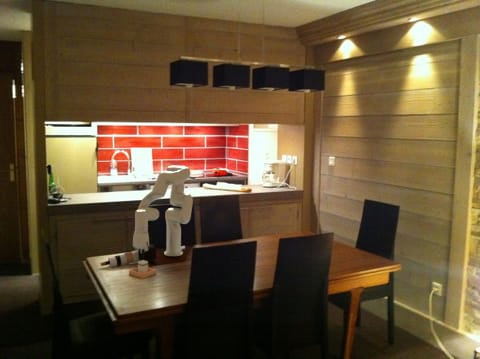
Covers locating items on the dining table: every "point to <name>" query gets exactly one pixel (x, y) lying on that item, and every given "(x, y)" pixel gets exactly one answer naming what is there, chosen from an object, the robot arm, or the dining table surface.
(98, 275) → the dining table surface
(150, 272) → the dish
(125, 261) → the striped tapered cylinder
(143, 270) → the block
